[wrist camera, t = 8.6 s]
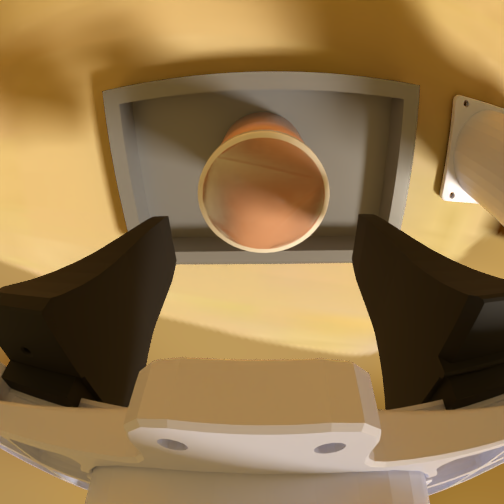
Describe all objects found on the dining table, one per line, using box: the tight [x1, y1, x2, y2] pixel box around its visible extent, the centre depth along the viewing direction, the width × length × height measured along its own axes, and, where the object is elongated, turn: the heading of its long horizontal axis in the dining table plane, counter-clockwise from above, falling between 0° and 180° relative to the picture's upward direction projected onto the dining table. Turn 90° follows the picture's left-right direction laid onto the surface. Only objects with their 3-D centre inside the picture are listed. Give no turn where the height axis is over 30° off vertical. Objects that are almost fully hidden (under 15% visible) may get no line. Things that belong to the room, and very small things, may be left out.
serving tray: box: [102, 71, 420, 264], centre depth 18 cm, size 18×12×2 cm, turn 92°
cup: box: [198, 112, 330, 253], centre depth 15 cm, size 5×5×7 cm
